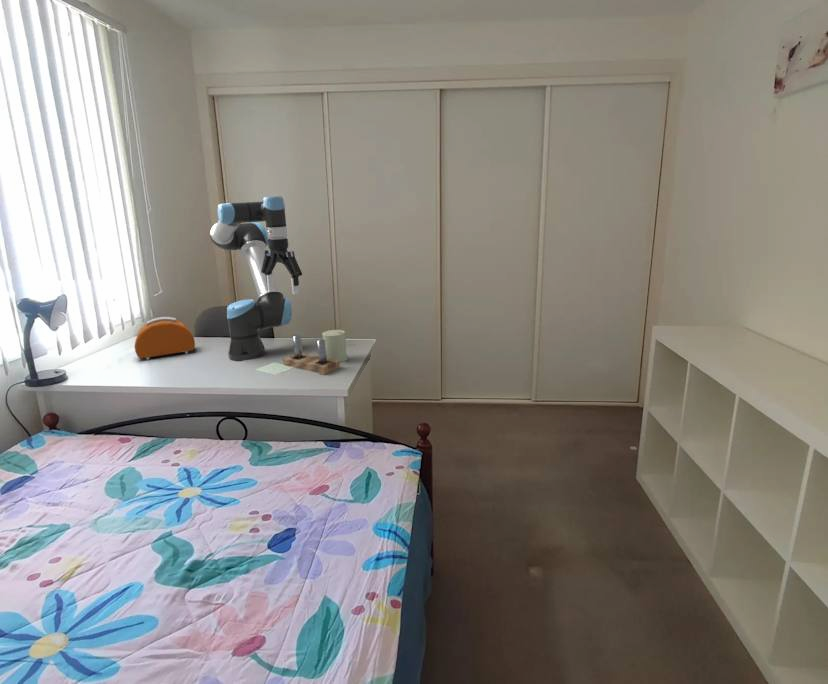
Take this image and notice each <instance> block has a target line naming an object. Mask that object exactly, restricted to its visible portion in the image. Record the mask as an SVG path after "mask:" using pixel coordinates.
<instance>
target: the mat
mask: <svg viewBox="0 0 828 684" xmlns="http://www.w3.org/2000/svg"><path fill="white" fill-rule="evenodd" d="M291 369H295V368H294V367H290V366H285V365H283V363H278V362H272V363H270V364H267V365H264V366H262V367H261V366H260V367H259V368H255V369H254V371H257V372H262V373H264V374H265V373H266V374H269V375H274V376H277V375H279V374H282V373H284V372H286V371H289V370H291Z"/></svg>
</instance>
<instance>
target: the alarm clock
mask: <svg viewBox="0 0 828 684" xmlns="http://www.w3.org/2000/svg"><path fill="white" fill-rule="evenodd" d="M194 337H195V336H194V334H193V332H192V330H190V328H189V327H188V326H187V325H186V324H185V323H184V322H181V321H179V320H177V318H176V317H171V316H160V317H155V318H153V319H152V318H151V319H149V320H148V321H146V324H145V325H144V326H142V327H141V328H140V330H139V331H138V333H137V336H136V338H135V341H134V350H135V354H136V356H137V357H138V358H140V359H146V360H147V361H150V358H152V357H158V356H165V355H173V354H178V353H185V355H187V354H189V352H190V351H191V352H193V350H194V349H195V348H196V342H195V338H194Z"/></svg>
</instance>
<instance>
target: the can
mask: <svg viewBox="0 0 828 684" xmlns="http://www.w3.org/2000/svg"><path fill="white" fill-rule="evenodd" d="M321 334H322V335H321V336H322V339H325V347H326V358H329V359H334V360H339V361H340V363H341V362H346V361H347V360H348V357H347V356H348V355H347V346H346V345H347V344H346V332H345V330H343V329H331V330H330V329H329V330H326V331H323V332H322V333H321Z"/></svg>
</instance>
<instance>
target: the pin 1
mask: <svg viewBox="0 0 828 684" xmlns="http://www.w3.org/2000/svg"><path fill="white" fill-rule="evenodd" d="M292 341H293V342H292V343H293V351H294V354H295V359H298V360H300V359H302V358H303V354H304V353H303V347H302V338H301V334H293V335H292ZM302 353H303V354H302Z"/></svg>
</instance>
